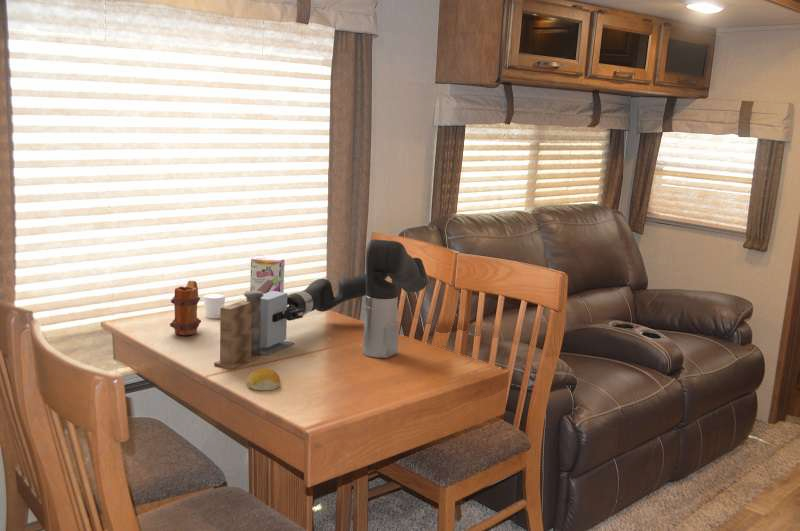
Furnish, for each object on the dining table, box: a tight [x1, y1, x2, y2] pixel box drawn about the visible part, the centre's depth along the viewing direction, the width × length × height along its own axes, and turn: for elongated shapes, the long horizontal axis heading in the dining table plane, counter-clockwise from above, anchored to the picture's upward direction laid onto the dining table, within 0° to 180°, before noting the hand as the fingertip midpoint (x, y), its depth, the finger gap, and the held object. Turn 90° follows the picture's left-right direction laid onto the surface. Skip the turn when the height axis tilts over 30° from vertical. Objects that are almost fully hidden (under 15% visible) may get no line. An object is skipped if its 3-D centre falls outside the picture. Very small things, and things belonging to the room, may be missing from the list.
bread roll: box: [246, 368, 282, 391], centre depth 187 cm, size 8×9×4 cm
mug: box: [169, 280, 202, 336], centre depth 229 cm, size 15×8×15 cm, turn 179°
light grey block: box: [260, 291, 288, 348], centre depth 217 cm, size 5×10×14 cm, turn 156°
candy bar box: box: [249, 256, 286, 294], centre depth 268 cm, size 11×5×16 cm, turn 82°
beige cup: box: [203, 293, 226, 319], centre depth 249 cm, size 7×7×7 cm
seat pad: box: [260, 340, 295, 356], centre depth 219 cm, size 14×8×1 cm, turn 157°
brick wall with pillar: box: [213, 290, 263, 370], centre depth 205 cm, size 16×6×18 cm, turn 156°
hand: (265, 317), depth 215 cm, fingers closed on light grey block, 5 cm apart
